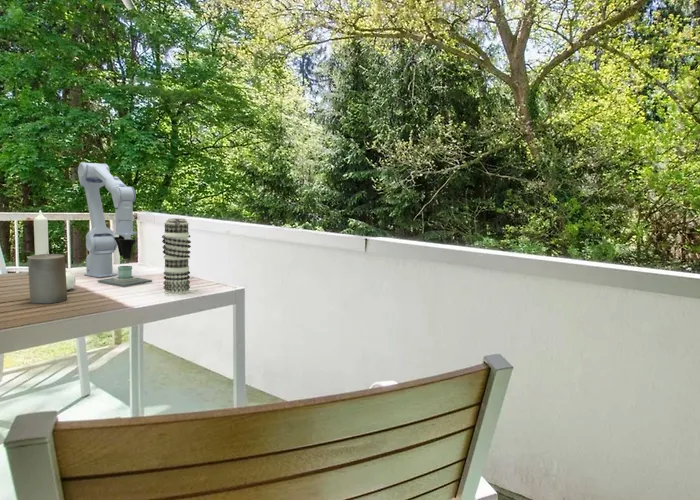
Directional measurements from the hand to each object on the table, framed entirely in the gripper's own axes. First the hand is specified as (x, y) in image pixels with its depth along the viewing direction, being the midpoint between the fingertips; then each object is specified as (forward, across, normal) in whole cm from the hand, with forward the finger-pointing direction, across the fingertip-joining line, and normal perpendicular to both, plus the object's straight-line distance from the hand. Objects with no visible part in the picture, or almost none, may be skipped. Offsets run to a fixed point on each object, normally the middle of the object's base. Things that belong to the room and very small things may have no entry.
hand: (124, 257), depth 182 cm
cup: (+8, 0, 0) cm, 8 cm away
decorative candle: (+10, -24, -13) cm, 29 cm away
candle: (+10, +26, +25) cm, 37 cm away
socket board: (+9, 0, 0) cm, 9 cm away
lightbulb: (+8, -15, +22) cm, 28 cm away
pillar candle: (+10, -22, +25) cm, 35 cm away
